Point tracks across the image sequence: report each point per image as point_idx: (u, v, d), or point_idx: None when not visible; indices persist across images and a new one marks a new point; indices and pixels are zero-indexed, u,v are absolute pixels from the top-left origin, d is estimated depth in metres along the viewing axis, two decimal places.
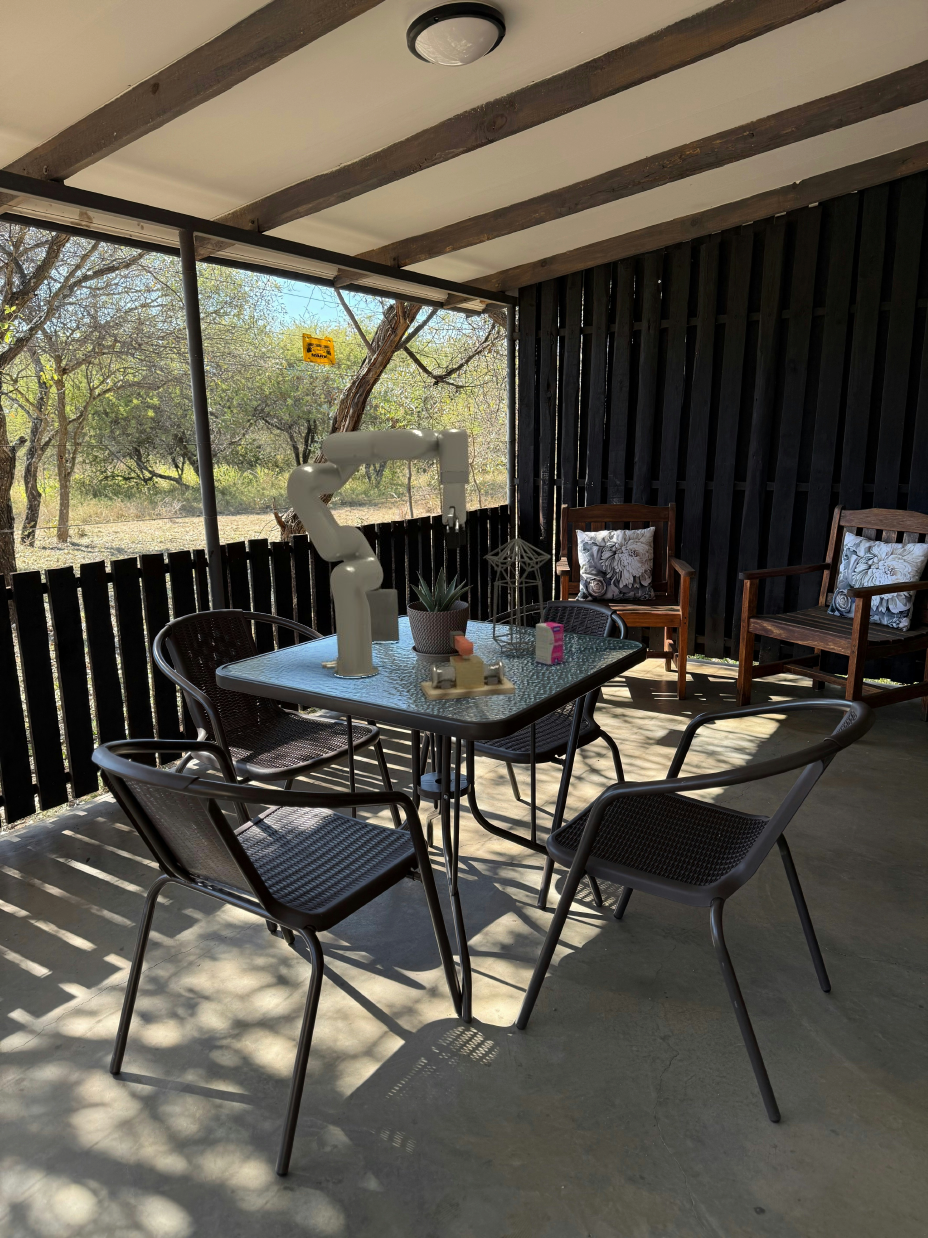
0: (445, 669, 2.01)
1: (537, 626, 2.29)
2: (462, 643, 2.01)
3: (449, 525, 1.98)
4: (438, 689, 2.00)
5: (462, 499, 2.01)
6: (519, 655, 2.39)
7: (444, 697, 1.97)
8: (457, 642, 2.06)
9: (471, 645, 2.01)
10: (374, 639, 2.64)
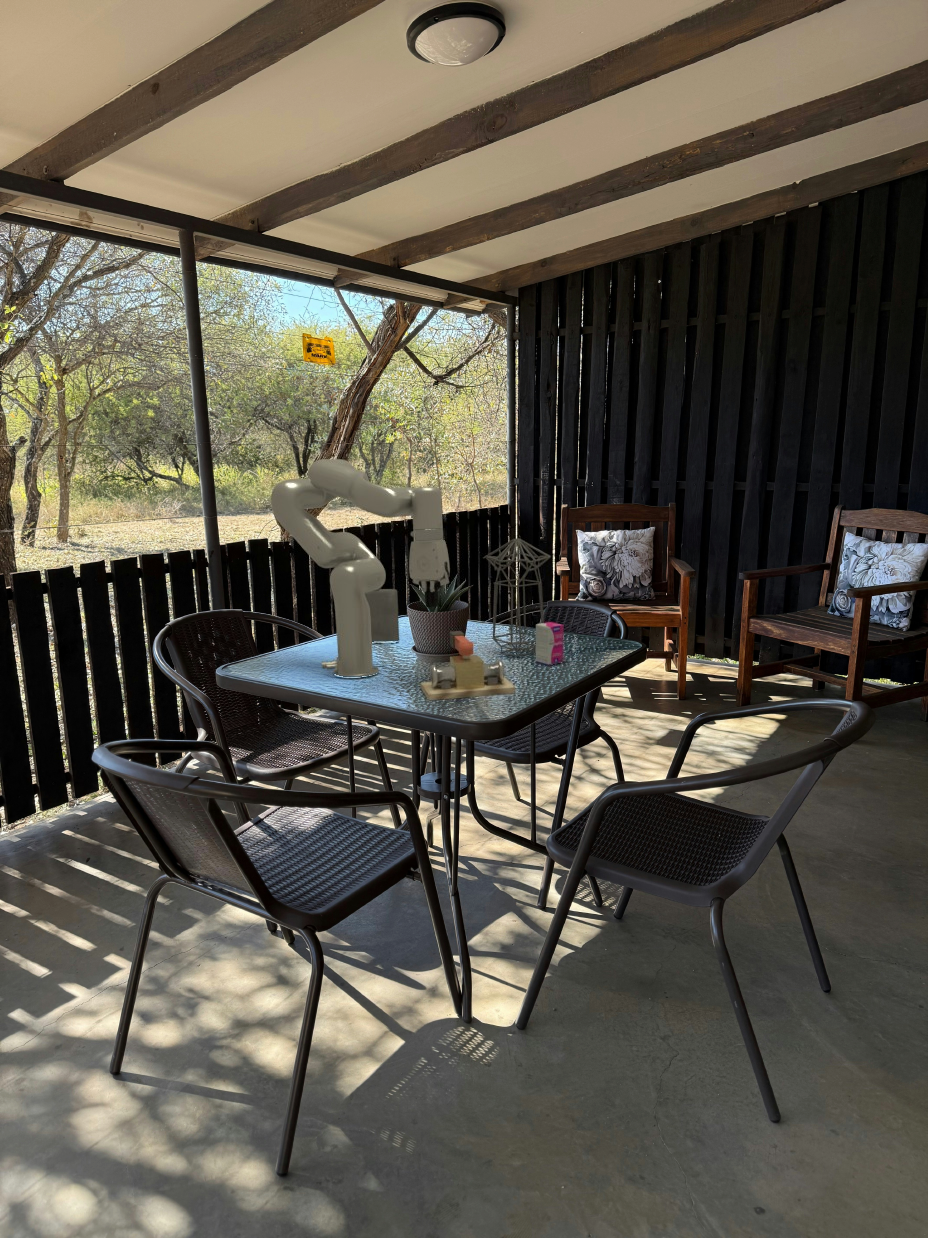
0: (445, 669, 2.01)
1: (537, 626, 2.29)
2: (462, 643, 2.01)
3: (440, 584, 2.06)
4: (438, 689, 2.00)
5: None
6: (519, 655, 2.39)
7: (444, 697, 1.97)
8: (457, 642, 2.06)
9: (471, 645, 2.01)
10: (374, 639, 2.64)
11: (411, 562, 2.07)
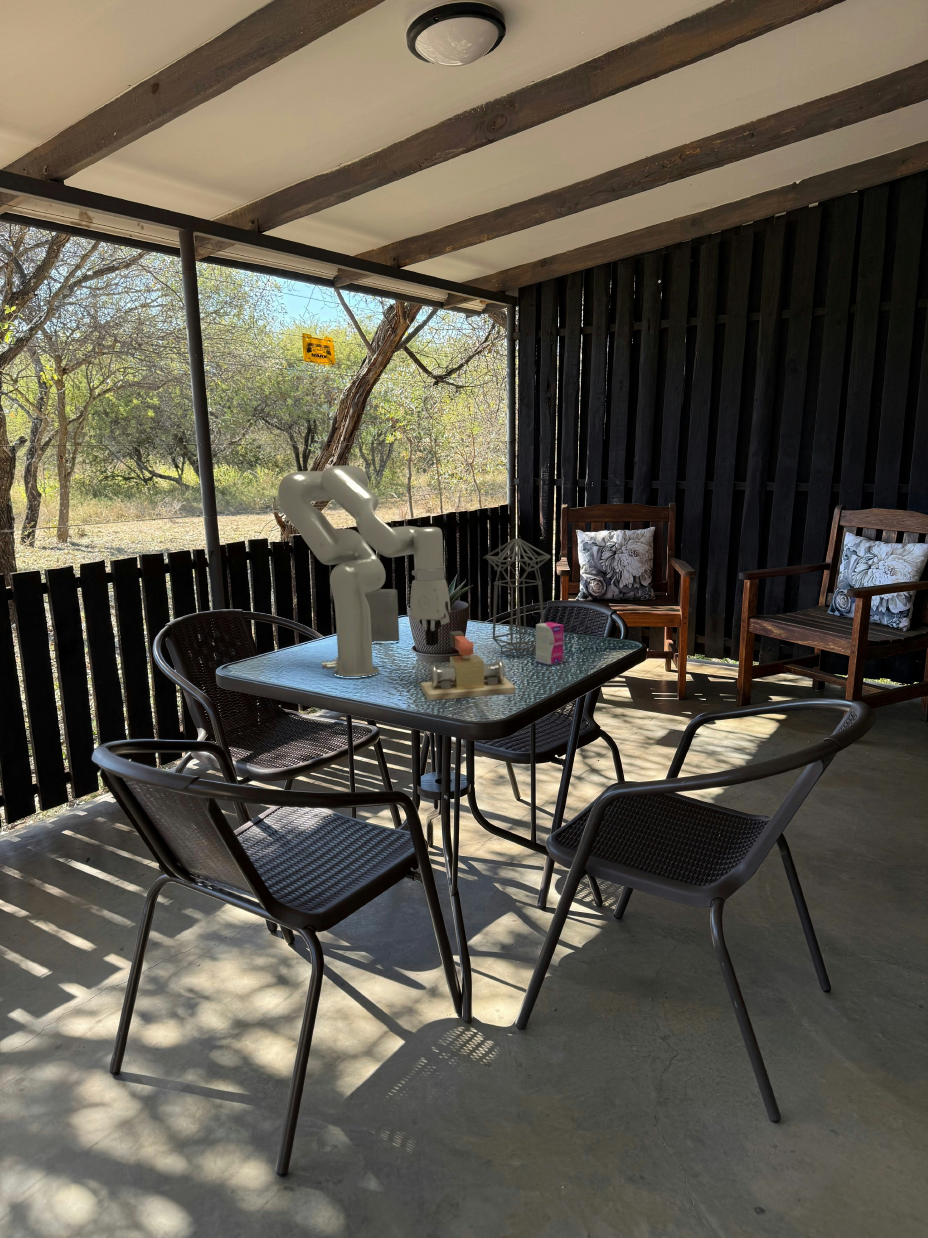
0: (445, 669, 2.01)
1: (537, 626, 2.29)
2: (462, 643, 2.01)
3: (440, 623, 2.08)
4: (438, 689, 2.00)
5: None
6: (519, 655, 2.39)
7: (444, 697, 1.97)
8: (457, 642, 2.06)
9: (471, 645, 2.01)
10: (374, 639, 2.64)
11: (412, 601, 2.09)
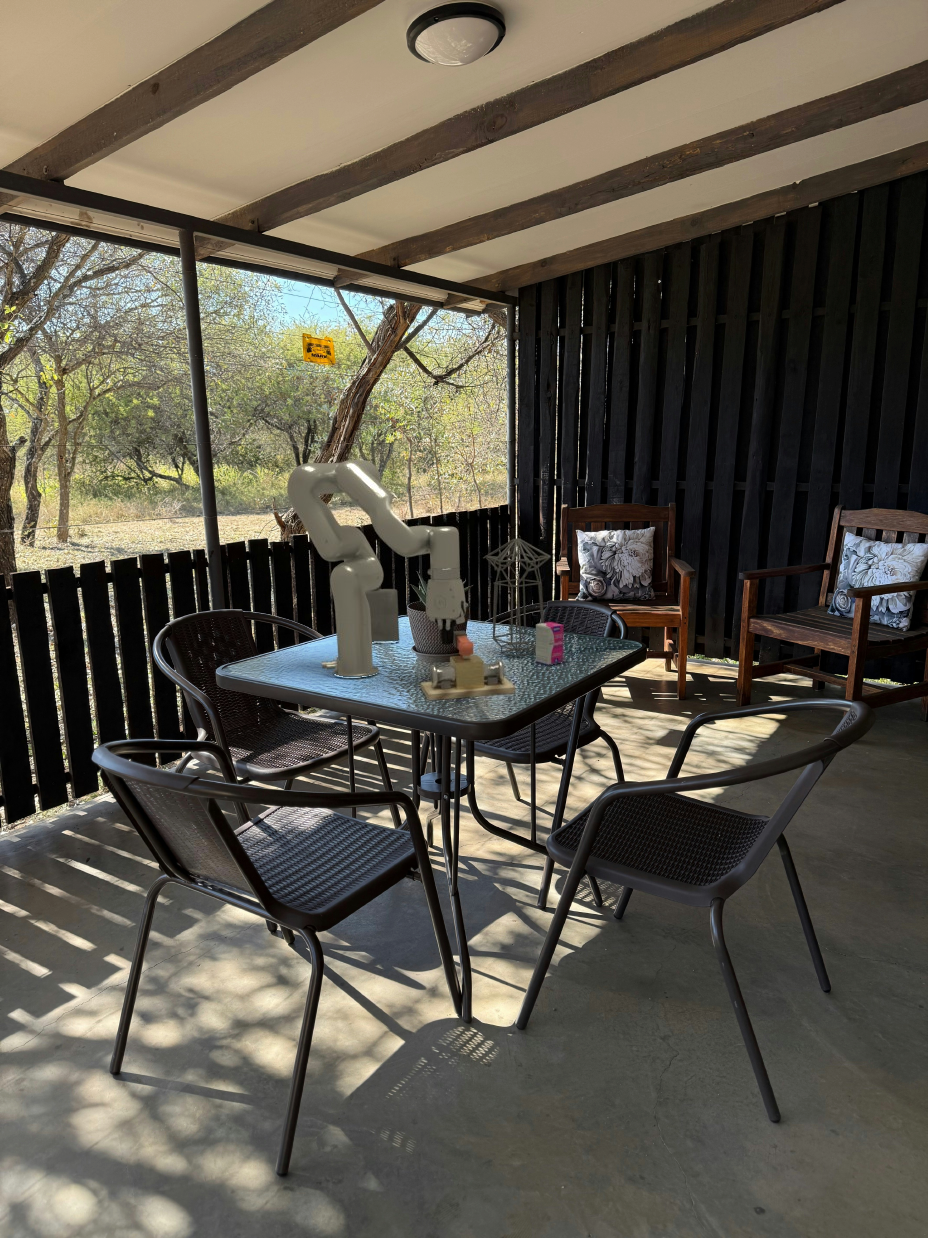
0: (445, 669, 2.01)
1: (537, 626, 2.29)
2: (462, 643, 2.01)
3: (456, 623, 2.08)
4: (438, 689, 2.00)
5: None
6: (519, 655, 2.39)
7: (444, 697, 1.97)
8: (458, 642, 2.07)
9: (471, 645, 2.01)
10: (374, 639, 2.64)
11: (428, 600, 2.09)
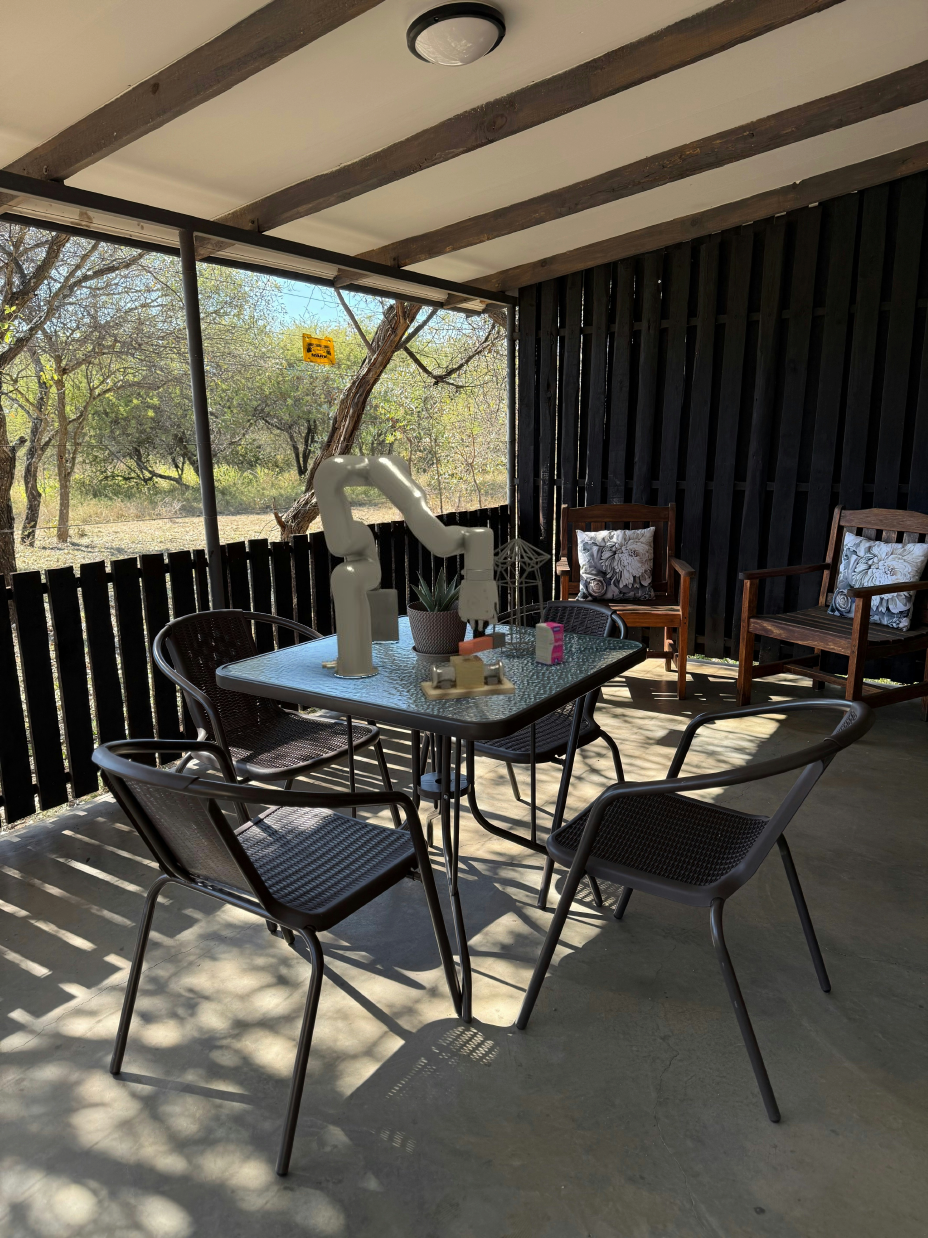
0: (445, 669, 2.01)
1: (537, 626, 2.29)
2: (461, 642, 2.02)
3: (488, 624, 2.08)
4: (438, 689, 2.00)
5: None
6: (519, 655, 2.39)
7: (444, 697, 1.97)
8: None
9: (465, 646, 2.00)
10: (374, 639, 2.64)
11: (461, 600, 2.09)
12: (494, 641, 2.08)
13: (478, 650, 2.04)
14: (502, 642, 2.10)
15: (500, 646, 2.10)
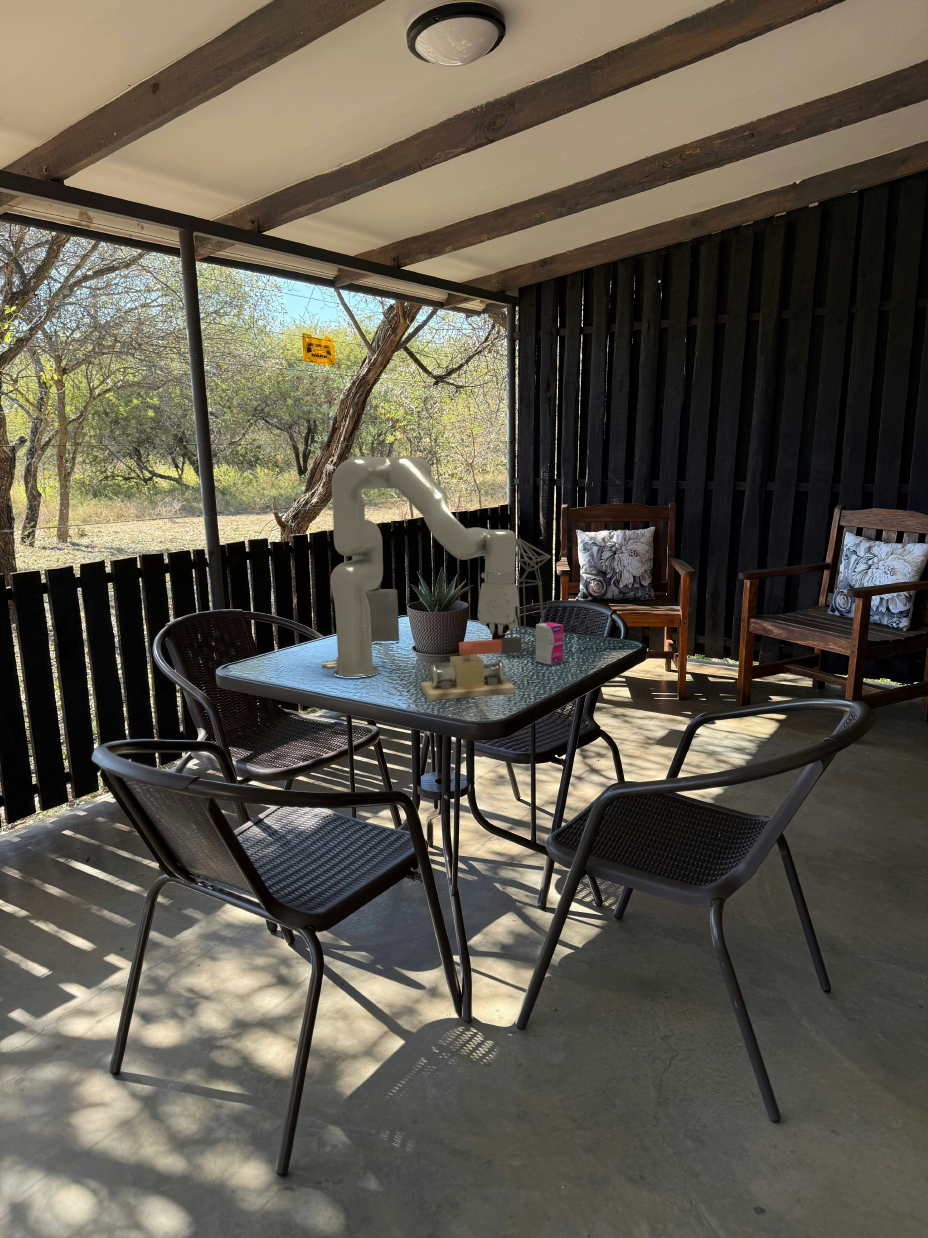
0: (445, 669, 2.01)
1: (537, 626, 2.29)
2: (463, 642, 2.03)
3: (508, 628, 2.04)
4: (438, 689, 2.00)
5: None
6: (519, 655, 2.39)
7: (444, 697, 1.97)
8: None
9: (461, 645, 2.01)
10: (374, 639, 2.64)
11: (480, 604, 2.05)
12: (503, 645, 2.02)
13: (480, 652, 2.02)
14: (516, 648, 2.03)
15: (513, 652, 2.03)
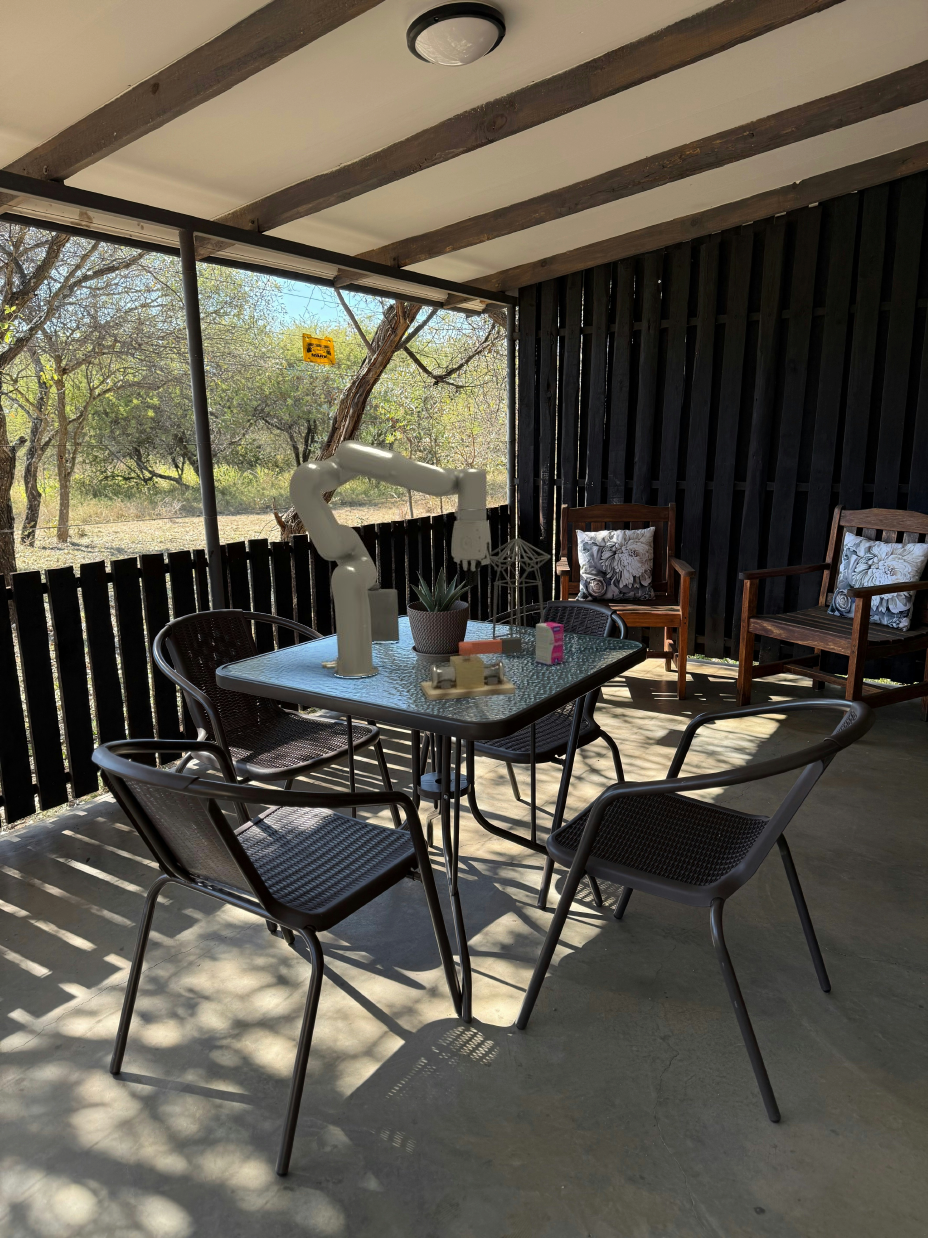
0: (445, 669, 2.01)
1: (537, 626, 2.29)
2: (463, 642, 2.03)
3: (481, 564, 2.11)
4: (438, 689, 2.00)
5: None
6: (519, 655, 2.39)
7: (444, 697, 1.97)
8: None
9: (461, 645, 2.01)
10: (374, 639, 2.64)
11: (454, 541, 2.12)
12: (503, 645, 2.02)
13: (480, 652, 2.02)
14: (516, 648, 2.03)
15: (513, 652, 2.03)
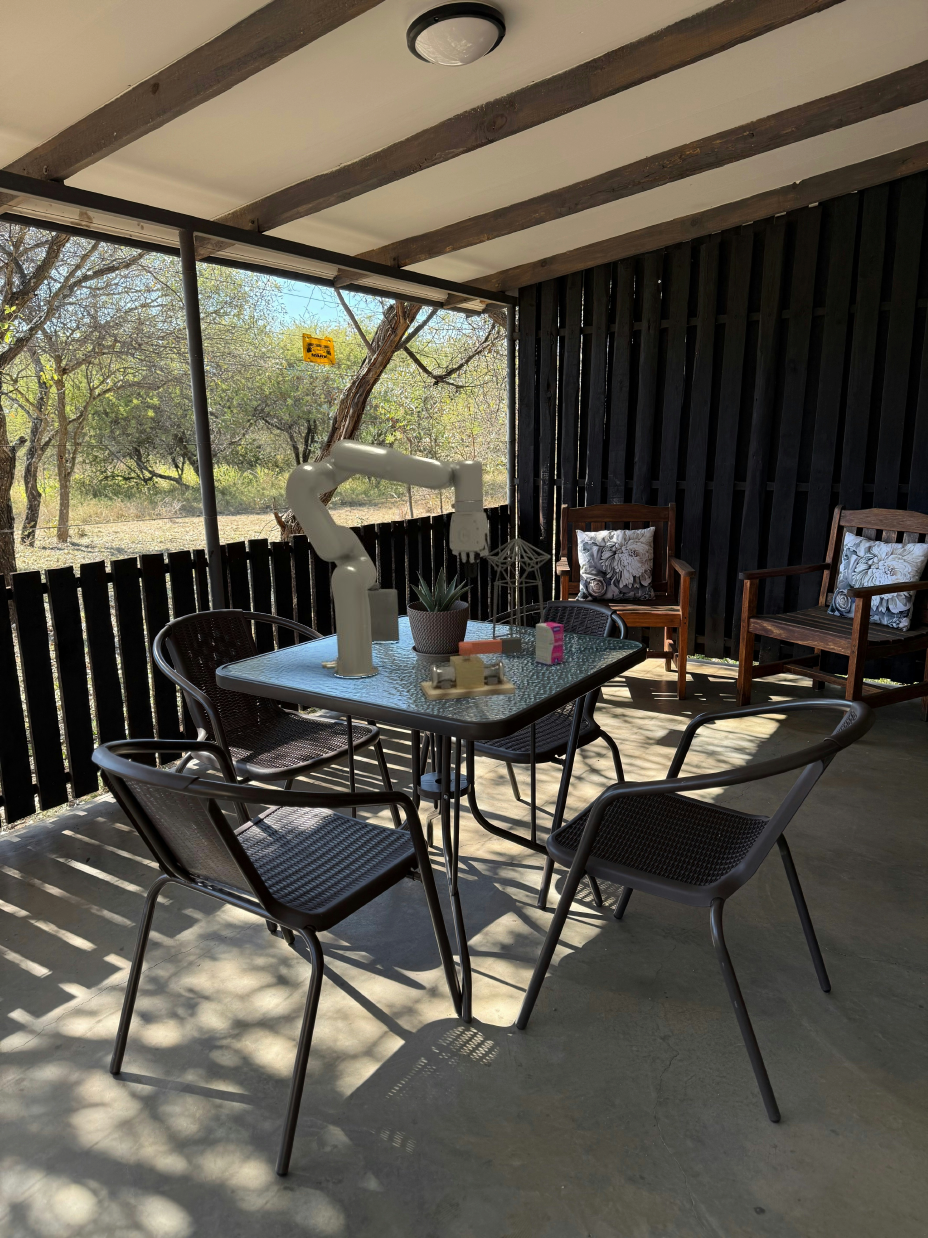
0: (445, 669, 2.01)
1: (537, 626, 2.29)
2: (463, 642, 2.03)
3: (479, 555, 2.12)
4: (438, 689, 2.00)
5: None
6: (519, 655, 2.39)
7: (444, 697, 1.97)
8: None
9: (461, 645, 2.01)
10: (374, 639, 2.64)
11: (452, 533, 2.13)
12: (503, 645, 2.02)
13: (480, 652, 2.02)
14: (516, 648, 2.03)
15: (513, 652, 2.03)
